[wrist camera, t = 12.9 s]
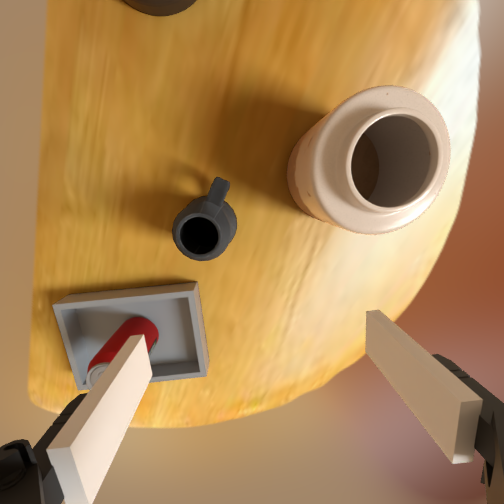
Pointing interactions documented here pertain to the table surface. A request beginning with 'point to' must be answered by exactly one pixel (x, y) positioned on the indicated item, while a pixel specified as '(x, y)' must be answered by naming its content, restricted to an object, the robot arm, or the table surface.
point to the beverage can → (121, 345)
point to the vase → (372, 161)
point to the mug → (206, 224)
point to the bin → (137, 305)
